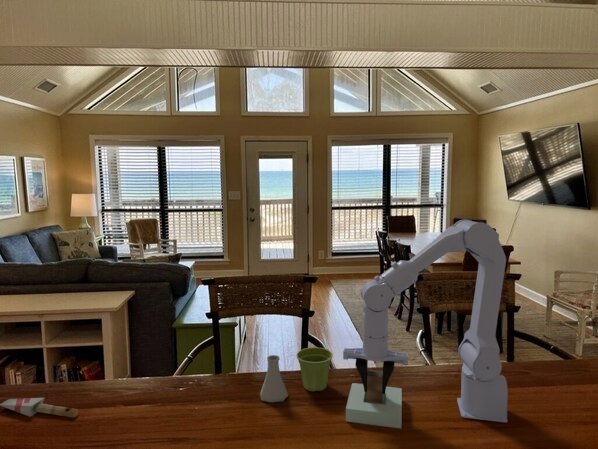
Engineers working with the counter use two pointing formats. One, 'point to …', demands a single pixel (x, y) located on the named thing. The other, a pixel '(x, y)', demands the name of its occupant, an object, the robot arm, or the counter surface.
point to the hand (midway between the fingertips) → (374, 390)
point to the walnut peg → (374, 385)
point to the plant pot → (314, 367)
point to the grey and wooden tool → (37, 407)
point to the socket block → (375, 407)
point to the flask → (273, 382)
